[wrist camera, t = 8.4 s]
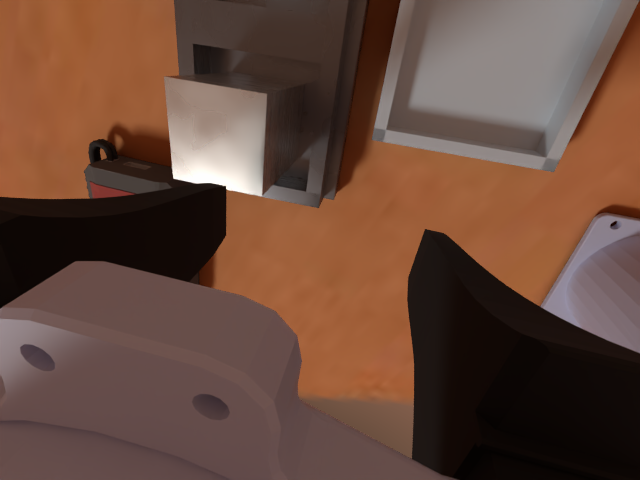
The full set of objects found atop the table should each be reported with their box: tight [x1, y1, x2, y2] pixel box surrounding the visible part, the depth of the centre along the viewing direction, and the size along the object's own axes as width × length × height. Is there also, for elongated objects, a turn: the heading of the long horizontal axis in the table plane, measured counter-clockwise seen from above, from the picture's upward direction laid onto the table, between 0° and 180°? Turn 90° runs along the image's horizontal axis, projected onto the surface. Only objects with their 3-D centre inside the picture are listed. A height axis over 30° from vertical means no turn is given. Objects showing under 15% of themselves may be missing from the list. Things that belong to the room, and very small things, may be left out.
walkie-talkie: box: [84, 139, 199, 285], centre depth 25 cm, size 9×4×20 cm
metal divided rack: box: [174, 0, 369, 208], centre depth 16 cm, size 9×16×3 cm, turn 172°
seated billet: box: [164, 72, 304, 196], centre depth 16 cm, size 4×4×6 cm
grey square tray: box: [372, 0, 639, 172], centre depth 15 cm, size 9×9×2 cm
